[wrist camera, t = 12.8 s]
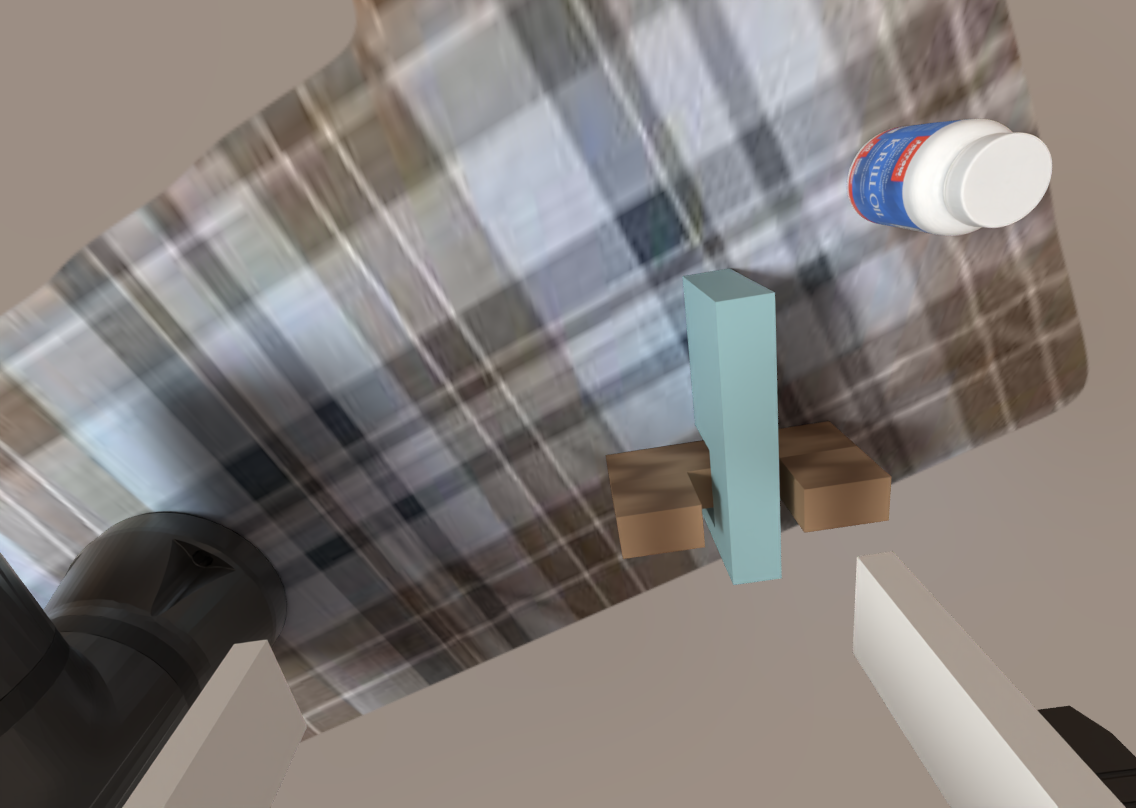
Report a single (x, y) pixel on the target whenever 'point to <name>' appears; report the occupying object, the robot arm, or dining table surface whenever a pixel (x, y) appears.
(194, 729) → the robot arm
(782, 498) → the brown u-shaped block
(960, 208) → the pill bottle
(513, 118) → the dining table surface
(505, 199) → the dining table surface
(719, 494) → the teal bridge block
